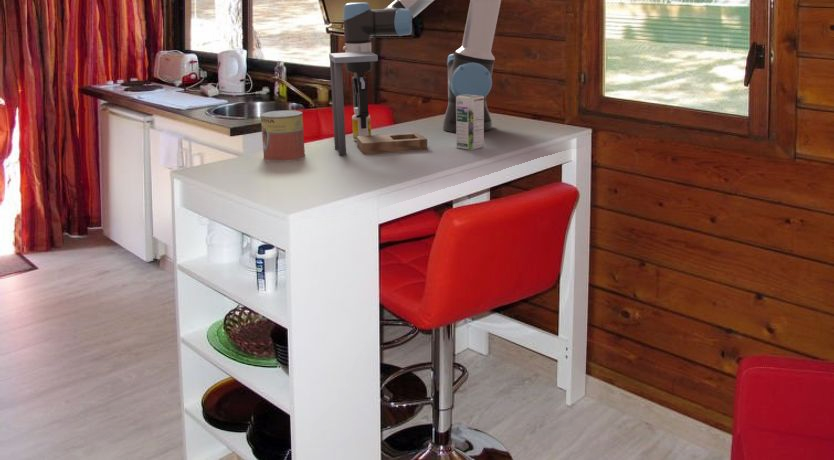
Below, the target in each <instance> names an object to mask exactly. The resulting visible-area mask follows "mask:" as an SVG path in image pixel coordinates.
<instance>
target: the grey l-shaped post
mask: <svg viewBox="0 0 834 460" xmlns="http://www.w3.org/2000/svg"><path fill="white" fill-rule="evenodd" d="M328 57H329V62H330V65H329V67H330V82H331V83H330V84H331V102H332V103H331V104H332V121H333V138H334V139H333V140H334V141H333V142H334V150H338V156H339V157H344V156H347V143H346V142H347V141H346V139H347V138H346V122H345V119H346V118H345V104H344V103H345V102H344V100H345V99H344V82H343V64H346V63H350V62H370V61H372V62H378V61H379V60H378V59H379V57H378V54H375V53H374V52H372V51H371V52H349V53H345V52H334V53H332V52H331V53H329V54H328Z"/></svg>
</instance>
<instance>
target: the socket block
mask: <svg viewBox="0 0 834 460" xmlns="http://www.w3.org/2000/svg"><path fill="white" fill-rule="evenodd" d="M356 146H357V148H358V150H359V151H360V152H361V153H362V155H374V154H385V153H397V152H398V153H400V152H401V153H402V152H417V151H428V139H427V138H426V137H425V136H424V135H423V134H421V133H420V132H406V133H404V132H403V133H390V134H374V135H372V134H371V136H357V141H356Z"/></svg>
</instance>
